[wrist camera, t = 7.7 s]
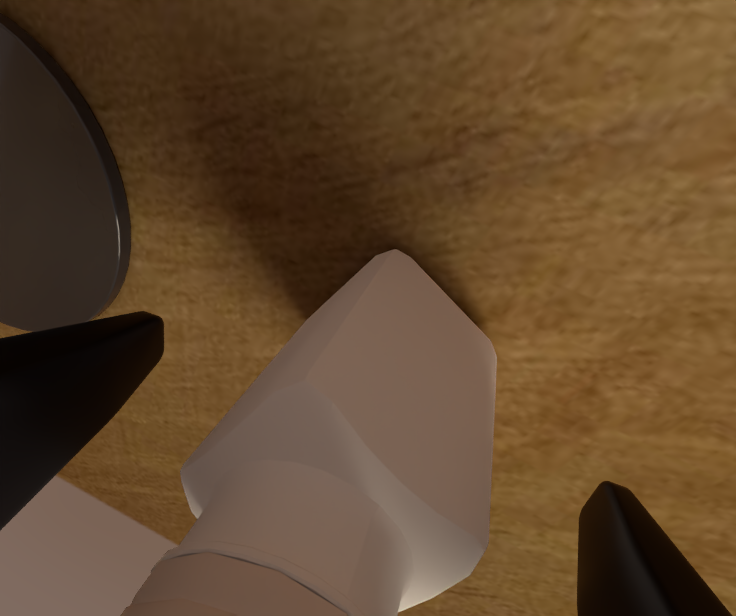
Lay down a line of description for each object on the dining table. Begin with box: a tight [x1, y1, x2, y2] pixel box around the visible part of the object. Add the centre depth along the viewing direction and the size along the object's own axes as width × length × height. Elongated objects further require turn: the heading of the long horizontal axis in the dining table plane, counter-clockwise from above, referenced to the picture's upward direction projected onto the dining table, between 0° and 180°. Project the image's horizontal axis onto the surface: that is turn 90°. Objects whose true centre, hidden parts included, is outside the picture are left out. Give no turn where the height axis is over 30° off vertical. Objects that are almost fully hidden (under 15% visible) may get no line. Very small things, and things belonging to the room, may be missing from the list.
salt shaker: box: [121, 249, 497, 616], centre depth 8 cm, size 4×4×10 cm
